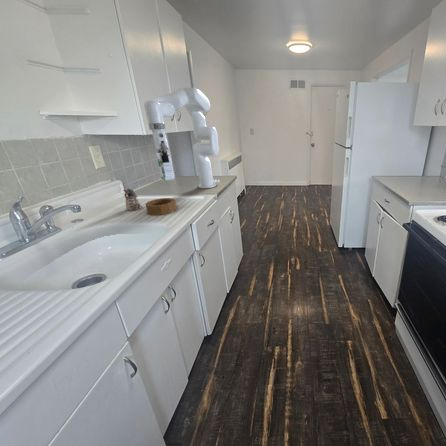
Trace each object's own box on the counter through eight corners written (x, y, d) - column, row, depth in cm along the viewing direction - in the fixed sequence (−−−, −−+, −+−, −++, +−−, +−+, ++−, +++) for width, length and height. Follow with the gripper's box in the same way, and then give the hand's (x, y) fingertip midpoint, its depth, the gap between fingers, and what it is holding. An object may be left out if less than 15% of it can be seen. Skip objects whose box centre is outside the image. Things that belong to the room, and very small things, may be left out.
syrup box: (161, 179, 144) (155, 153, 139) (171, 177, 148) (166, 152, 142) (164, 180, 140) (158, 154, 135) (175, 179, 144) (170, 152, 139)
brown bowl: (172, 204, 153) (171, 196, 151) (179, 210, 142) (178, 202, 140) (145, 209, 144) (143, 201, 142) (151, 217, 134) (148, 208, 132)
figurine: (143, 208, 147) (138, 188, 142) (130, 211, 142) (124, 191, 137) (137, 205, 151) (132, 186, 146) (124, 209, 145) (118, 189, 141)
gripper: (169, 127, 129) (176, 163, 136) (160, 126, 142) (167, 159, 149) (152, 127, 125) (160, 164, 132) (145, 127, 137) (153, 160, 144)
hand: (164, 161), depth 140 cm, fingers closed on syrup box, 6 cm apart
